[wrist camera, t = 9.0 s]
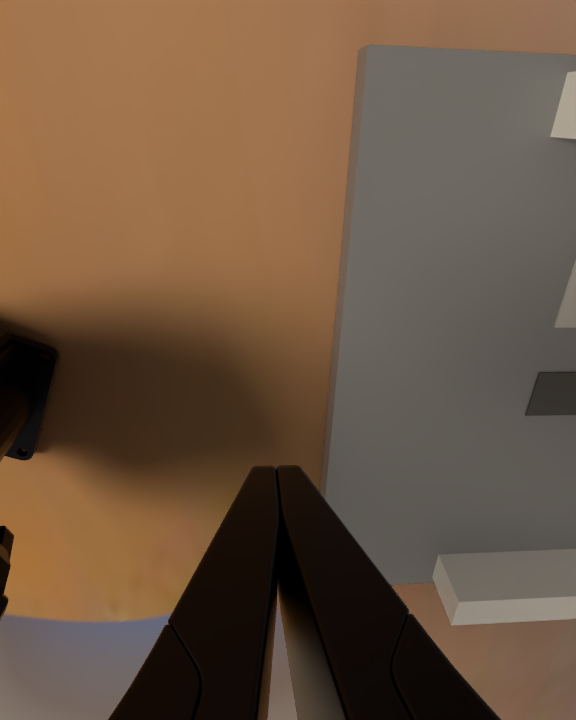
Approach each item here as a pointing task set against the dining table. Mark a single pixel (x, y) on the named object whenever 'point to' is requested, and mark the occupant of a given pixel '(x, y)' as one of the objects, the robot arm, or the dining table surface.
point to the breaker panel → (460, 330)
